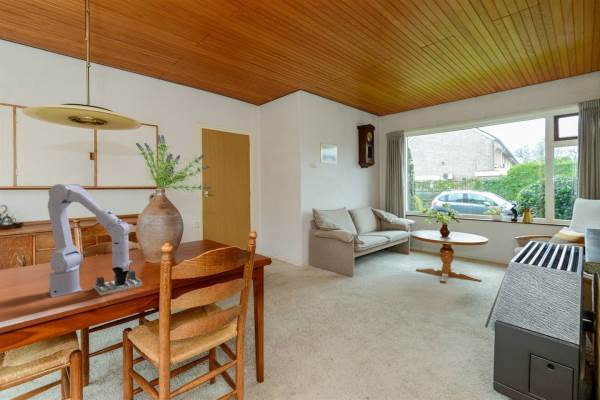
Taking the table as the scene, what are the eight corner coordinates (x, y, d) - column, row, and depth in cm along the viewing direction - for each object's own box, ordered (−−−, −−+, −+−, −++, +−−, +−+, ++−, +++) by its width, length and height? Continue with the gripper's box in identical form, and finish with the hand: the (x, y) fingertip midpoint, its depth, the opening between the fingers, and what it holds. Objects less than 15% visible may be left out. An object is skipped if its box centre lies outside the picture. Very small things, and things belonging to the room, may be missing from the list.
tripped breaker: (116, 286, 115) (116, 276, 115) (114, 284, 117) (114, 274, 117) (124, 284, 117) (124, 274, 117) (122, 282, 119) (122, 273, 119)
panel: (100, 295, 109) (100, 283, 109) (94, 288, 117) (93, 276, 117) (142, 285, 120) (142, 274, 120) (133, 279, 128) (133, 269, 128)
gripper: (137, 253, 112) (137, 286, 113) (126, 247, 122) (127, 277, 123) (116, 256, 107) (117, 290, 108) (107, 250, 117) (108, 281, 118)
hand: (121, 284), depth 115 cm, fingers closed
